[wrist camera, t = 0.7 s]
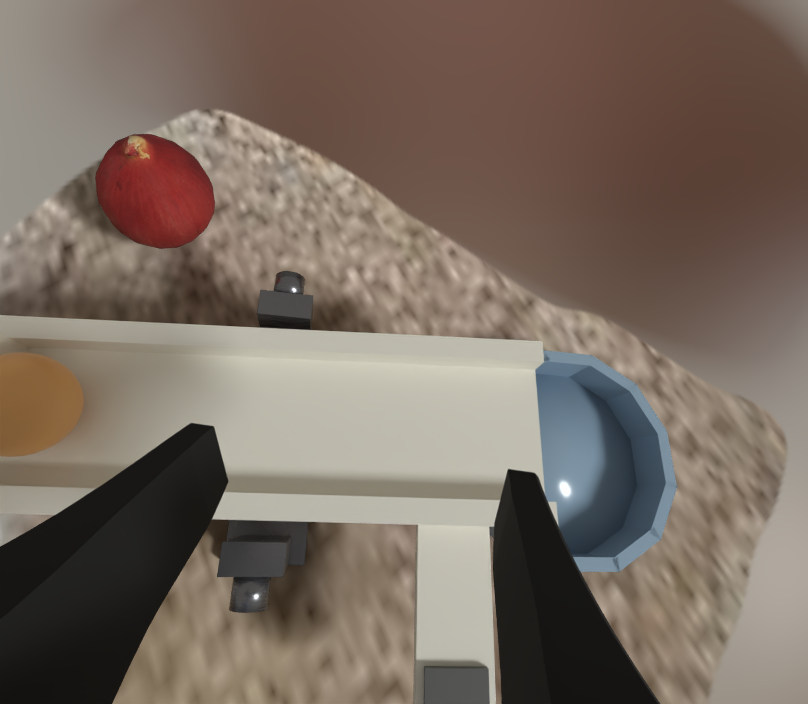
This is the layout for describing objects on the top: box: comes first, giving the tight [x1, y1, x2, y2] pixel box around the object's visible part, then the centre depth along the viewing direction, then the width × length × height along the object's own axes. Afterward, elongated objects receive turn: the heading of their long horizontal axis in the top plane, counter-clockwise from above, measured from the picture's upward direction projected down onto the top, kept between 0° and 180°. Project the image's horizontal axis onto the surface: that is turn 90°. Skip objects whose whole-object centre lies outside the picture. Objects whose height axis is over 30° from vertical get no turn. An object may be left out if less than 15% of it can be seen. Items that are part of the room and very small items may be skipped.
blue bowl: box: [489, 350, 677, 572], centre depth 27 cm, size 12×12×3 cm
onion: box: [95, 134, 215, 249], centre depth 25 cm, size 6×6×8 cm
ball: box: [0, 352, 84, 457], centre depth 17 cm, size 4×4×4 cm
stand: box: [217, 271, 313, 613], centre depth 22 cm, size 14×4×7 cm, turn 177°
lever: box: [0, 315, 558, 704], centre depth 18 cm, size 17×24×3 cm
